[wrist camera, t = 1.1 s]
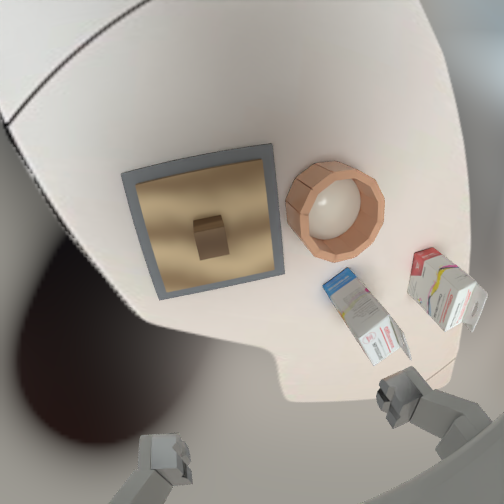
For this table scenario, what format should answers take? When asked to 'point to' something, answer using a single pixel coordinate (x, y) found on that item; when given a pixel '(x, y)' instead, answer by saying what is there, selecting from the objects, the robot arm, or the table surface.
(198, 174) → the oak cover
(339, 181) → the terracotta bowl
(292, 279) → the table surface
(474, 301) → the ink cartridge box
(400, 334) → the ink box
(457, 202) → the table surface
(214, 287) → the rubber mat
